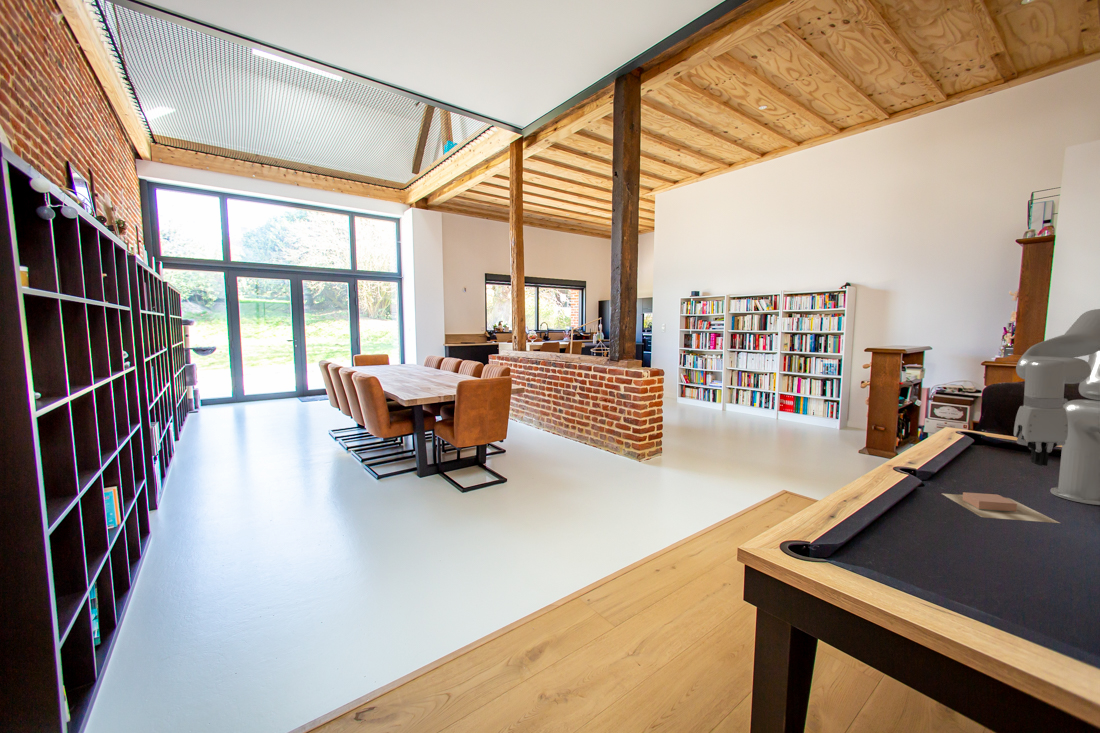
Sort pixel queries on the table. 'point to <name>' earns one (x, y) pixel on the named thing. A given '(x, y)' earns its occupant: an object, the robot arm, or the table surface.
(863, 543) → the table surface
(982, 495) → the tile
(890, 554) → the table surface
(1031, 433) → the robot arm
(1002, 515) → the board
